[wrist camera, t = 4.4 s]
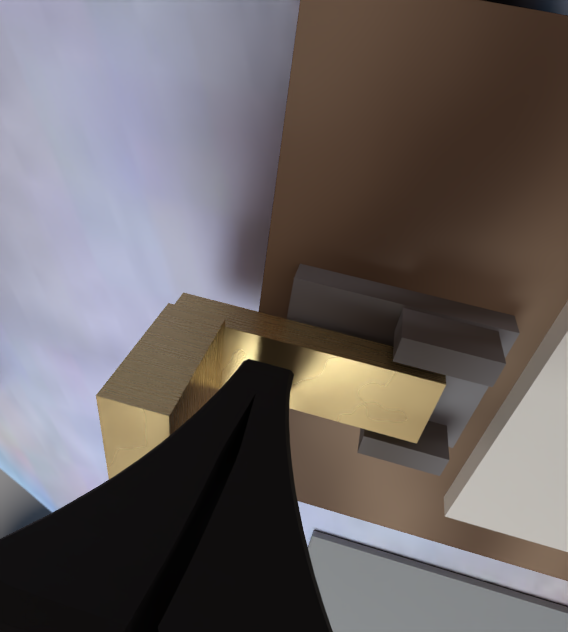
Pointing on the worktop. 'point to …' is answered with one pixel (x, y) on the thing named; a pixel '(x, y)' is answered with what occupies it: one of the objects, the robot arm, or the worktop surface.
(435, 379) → the notched brass block
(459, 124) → the board
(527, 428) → the cover
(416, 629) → the mat
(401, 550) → the worktop surface
